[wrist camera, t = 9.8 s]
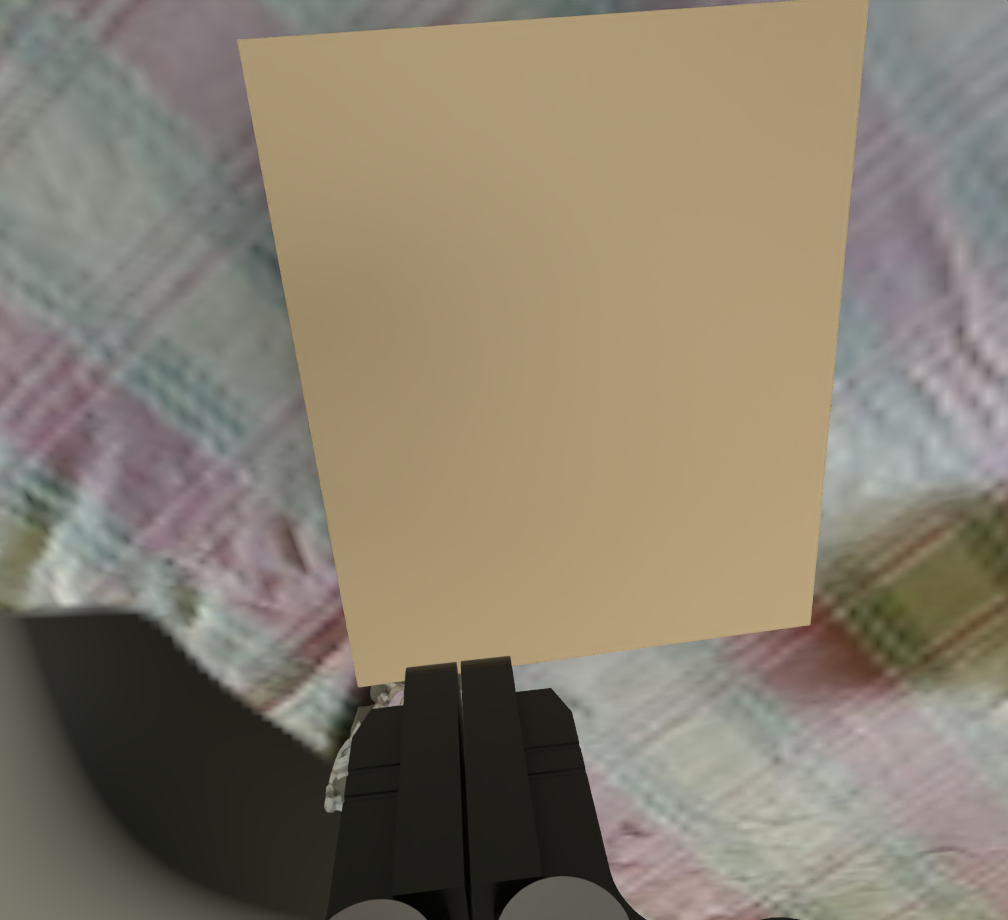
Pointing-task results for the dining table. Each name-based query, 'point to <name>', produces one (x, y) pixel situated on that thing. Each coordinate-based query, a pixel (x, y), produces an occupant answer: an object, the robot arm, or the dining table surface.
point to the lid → (565, 318)
